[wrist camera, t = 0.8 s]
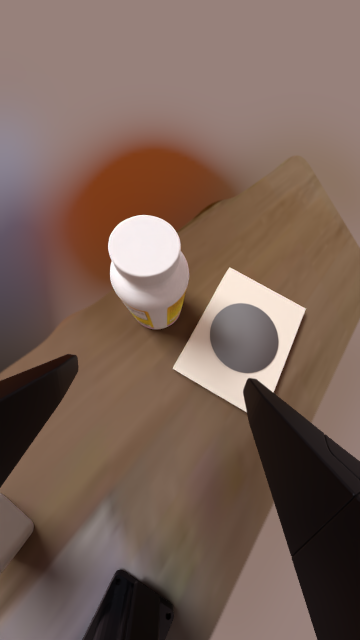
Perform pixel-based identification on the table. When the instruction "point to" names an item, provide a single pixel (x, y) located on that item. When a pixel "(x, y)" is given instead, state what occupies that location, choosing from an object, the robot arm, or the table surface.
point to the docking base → (240, 338)
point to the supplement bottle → (148, 270)
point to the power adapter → (12, 530)
